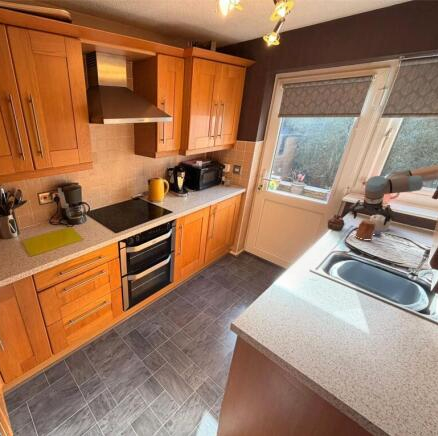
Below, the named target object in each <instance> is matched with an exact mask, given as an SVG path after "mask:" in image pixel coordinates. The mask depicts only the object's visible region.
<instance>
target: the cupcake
mask: <svg viewBox="0 0 438 436" xmlns="http://www.w3.org/2000/svg"><path fill="white" fill-rule="evenodd" d="M345 225H346V224H345V220H344V218H343V217H342V215H338V214H332V215H331V217H330V218H329V219H328V220H327V229H328V230H330V231H333V232H334V231H335V232H341V231H342V230H343V229H344V226H345Z"/></svg>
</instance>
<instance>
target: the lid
mask: <svg viewBox="0 0 438 436" xmlns="http://www.w3.org/2000/svg"><path fill="white" fill-rule="evenodd" d="M374 234H375V235H373V237H376V238H378V237H381V235H382V231H376V230H375V232H374Z"/></svg>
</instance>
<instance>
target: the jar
mask: <svg viewBox="0 0 438 436" xmlns="http://www.w3.org/2000/svg"><path fill="white" fill-rule="evenodd" d="M376 227H377V226H376V223H375V222H373V221H370V219H369V220H368V219H362V220H361V221H360V222H359V224H358V226H357V230H356V232H355V235H356V236H357V237H356V236H355V235H354V238H355V239H357V240H358V241H362V242H371V241H372V239H373V238H374V236H373V234H374V232H375V229H376ZM358 237H359V238H358ZM360 238H362V239H360ZM364 239H371V240H364Z"/></svg>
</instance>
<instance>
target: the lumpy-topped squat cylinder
mask: <svg viewBox="0 0 438 436" xmlns="http://www.w3.org/2000/svg"><path fill="white" fill-rule="evenodd" d="M369 221H373V222H375V223H376V226H377V227H376V229H375V230H376V231H379V232H388V230H389V228H390V226H391V223H392V219H390V221H389V222H387V223H386V225H384V221H385V217H384V216H383V215H381V214H373V215H370V219H369Z"/></svg>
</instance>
